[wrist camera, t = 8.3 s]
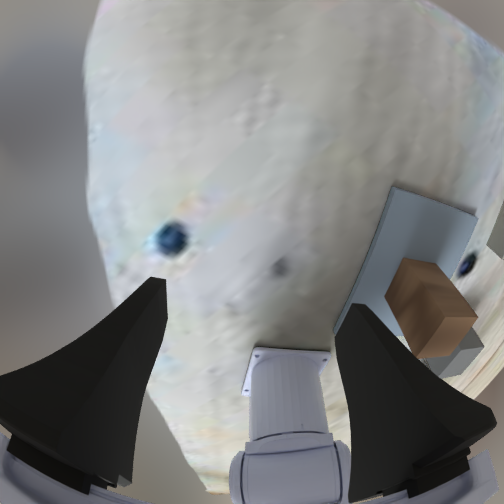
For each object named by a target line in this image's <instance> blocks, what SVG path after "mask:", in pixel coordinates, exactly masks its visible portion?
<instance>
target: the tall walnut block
mask: <svg viewBox="0 0 504 504" xmlns="http://www.w3.org/2000/svg"><path fill="white" fill-rule="evenodd" d="M384 298H385V300H386V301H387V303H388V305H389V307H390V309H391V311H392V313H393V315H394V317H395V319H396V321H397V323H398V325H399V327H400V329H401V331H402V333H403V335H404V337H405V339H406V341H407V343H408V345H409V347H410V349H411V352H412V354H413V355H414V356H415V357H416V358H417V359H421V358H432V357H441V356H449V355H450V354H451V353H452V352H453V351H454V349H455V348H456V347H457V346H458V344H459V343H460V342H461V340H462V339H463V338H464V336H465V335H466V334H467V332H468V331H469V330H470V328H471V327H472V325H473V324H474V323H475V321H476V320H477V318H478V316H477V315H476V314H475V312H474V311H473V309H472V308H471V307H470V305H469V304H468V303H467V301H466V300H465V299H464V297H463V296H462V295H461V293H460V292H459V291H458V290H457V288H456V287H455V286H454V284H453V283H452V282H451V281H450V279H449V278H448V277H447V276H446V275H445V273H444V272H443V271H442V270H441V269H440V267H439V266H438V265H437V264H436V263H431V262H425V261H420V260H414V259H409V258H403V259H402V261H401V263H400V265H399V267H398V269H397V271H396V274H395V276H394V278H393V280H392V282H391V284H390V286H389V288H388V290H387V292H386V294H385V296H384Z"/></svg>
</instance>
